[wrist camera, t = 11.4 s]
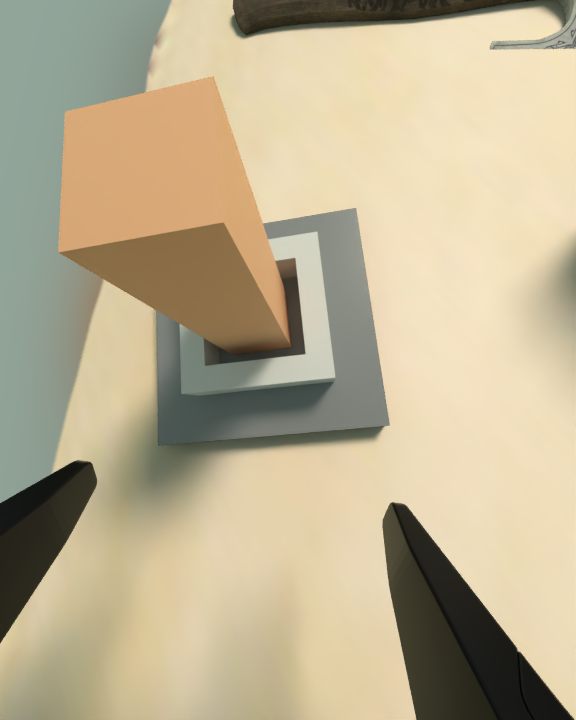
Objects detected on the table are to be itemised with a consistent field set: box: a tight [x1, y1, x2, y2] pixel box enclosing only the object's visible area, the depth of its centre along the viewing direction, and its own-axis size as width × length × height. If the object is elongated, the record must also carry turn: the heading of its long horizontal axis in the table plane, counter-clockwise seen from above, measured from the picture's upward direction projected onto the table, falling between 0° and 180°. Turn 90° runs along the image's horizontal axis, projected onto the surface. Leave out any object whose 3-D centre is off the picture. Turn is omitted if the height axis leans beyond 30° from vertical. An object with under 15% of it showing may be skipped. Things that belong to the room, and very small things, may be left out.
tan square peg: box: [58, 76, 292, 355], centre depth 13 cm, size 4×4×13 cm
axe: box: [233, 0, 576, 49], centre depth 23 cm, size 11×2×30 cm
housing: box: [157, 208, 390, 446], centre depth 19 cm, size 15×15×4 cm
